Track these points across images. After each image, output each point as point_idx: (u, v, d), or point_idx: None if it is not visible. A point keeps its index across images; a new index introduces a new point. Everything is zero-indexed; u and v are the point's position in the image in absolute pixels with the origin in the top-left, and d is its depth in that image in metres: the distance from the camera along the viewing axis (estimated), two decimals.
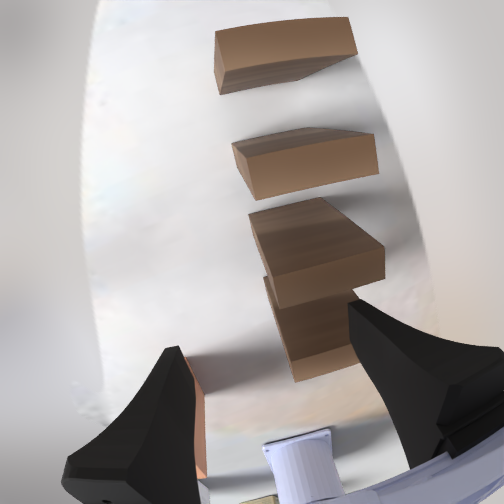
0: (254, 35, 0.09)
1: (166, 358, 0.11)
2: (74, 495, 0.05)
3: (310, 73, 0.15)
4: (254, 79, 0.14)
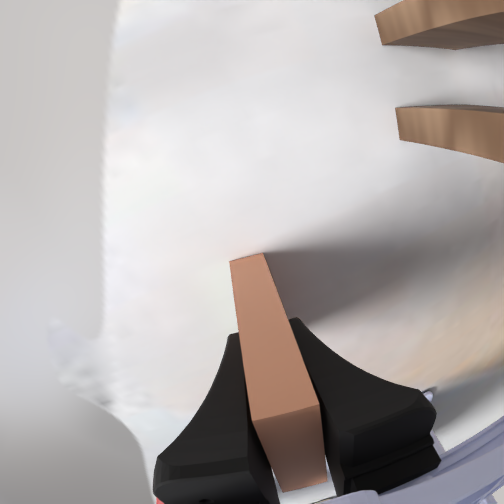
0: None
1: (236, 343, 0.11)
2: (164, 499, 0.05)
3: None
4: None
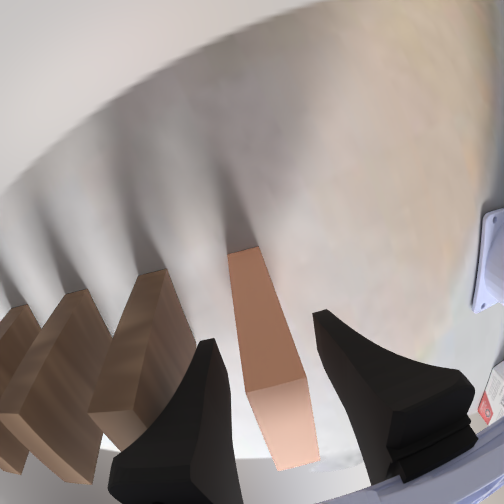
0: None
1: (204, 351, 0.11)
2: (120, 499, 0.05)
3: None
4: None
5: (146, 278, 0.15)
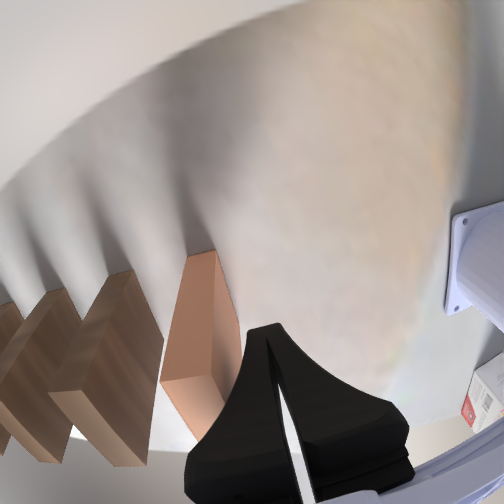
0: None
1: (257, 338, 0.11)
2: (194, 498, 0.05)
3: None
4: None
5: (114, 278, 0.16)
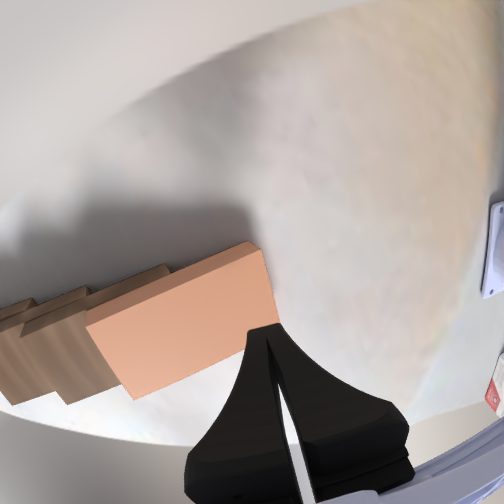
0: None
1: (257, 338, 0.11)
2: (194, 498, 0.05)
3: None
4: None
5: (157, 270, 0.16)
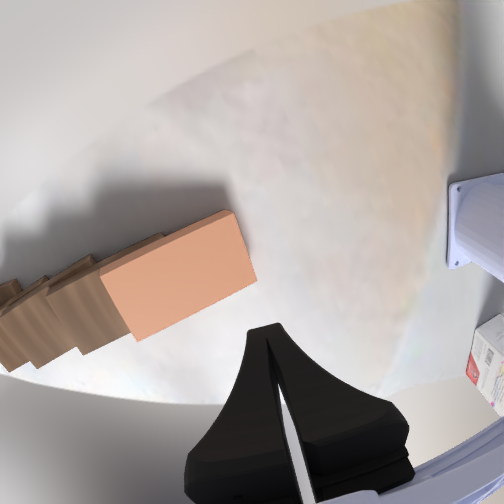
0: None
1: (257, 338, 0.11)
2: (194, 498, 0.05)
3: None
4: None
5: (154, 237, 0.20)
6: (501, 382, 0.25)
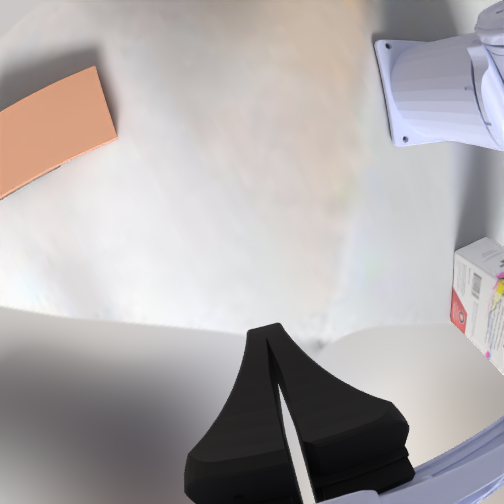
0: None
1: (257, 338, 0.11)
2: (194, 498, 0.05)
3: None
4: None
5: None
6: (496, 318, 0.20)
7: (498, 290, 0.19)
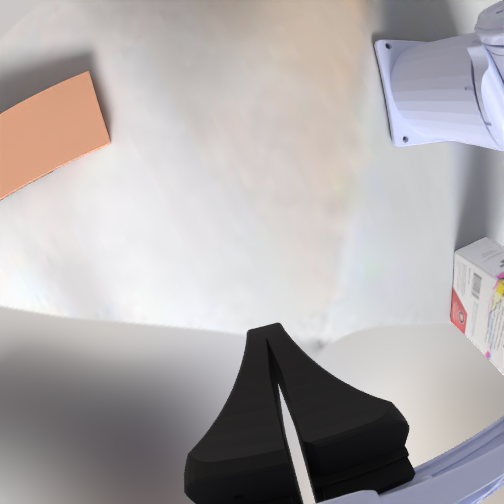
0: None
1: (257, 338, 0.11)
2: (194, 498, 0.05)
3: None
4: None
5: None
6: (496, 318, 0.20)
7: (498, 290, 0.19)
